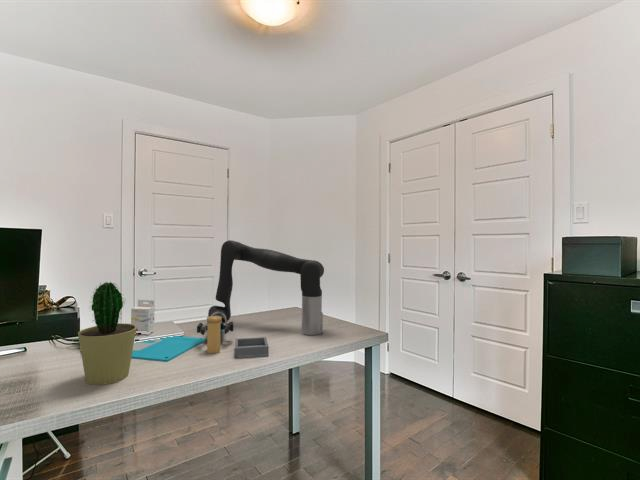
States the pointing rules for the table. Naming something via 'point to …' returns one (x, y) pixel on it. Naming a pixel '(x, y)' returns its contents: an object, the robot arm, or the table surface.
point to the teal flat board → (164, 348)
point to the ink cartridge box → (143, 315)
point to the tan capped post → (213, 334)
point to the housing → (251, 347)
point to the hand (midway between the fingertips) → (214, 331)
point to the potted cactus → (107, 339)
